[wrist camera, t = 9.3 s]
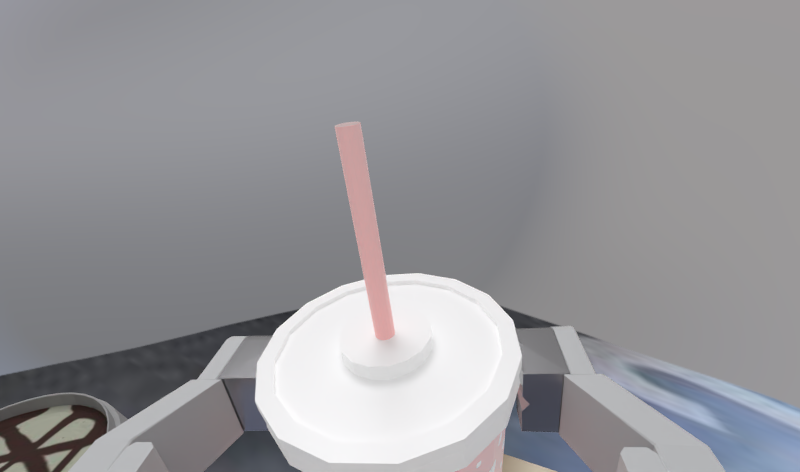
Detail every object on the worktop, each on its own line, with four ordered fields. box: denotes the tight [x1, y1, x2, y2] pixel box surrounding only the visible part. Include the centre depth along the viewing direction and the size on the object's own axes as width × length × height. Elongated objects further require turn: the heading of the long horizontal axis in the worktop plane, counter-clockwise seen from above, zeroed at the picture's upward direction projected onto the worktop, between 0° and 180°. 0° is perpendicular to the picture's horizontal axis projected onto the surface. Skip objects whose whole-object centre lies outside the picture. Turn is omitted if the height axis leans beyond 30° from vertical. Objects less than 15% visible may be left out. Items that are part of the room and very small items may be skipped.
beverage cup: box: [255, 122, 522, 472], centre depth 10 cm, size 6×6×14 cm
